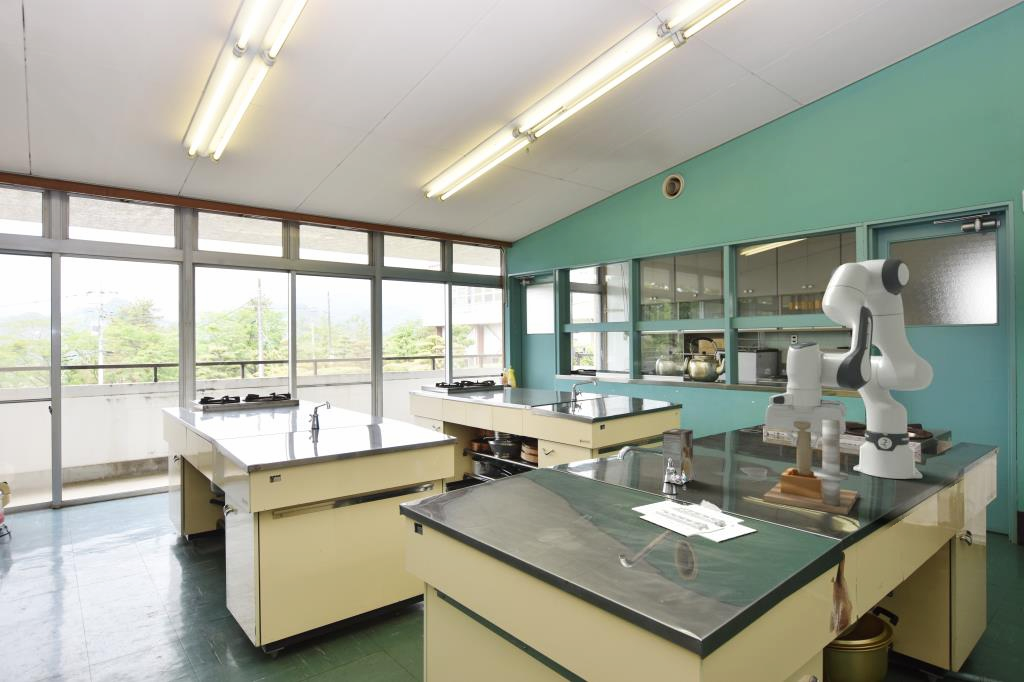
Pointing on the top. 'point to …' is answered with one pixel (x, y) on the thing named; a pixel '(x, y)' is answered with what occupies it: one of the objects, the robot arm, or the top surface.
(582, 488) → the top surface
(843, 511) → the rosette stand
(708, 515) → the stacked white papers
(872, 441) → the robot arm
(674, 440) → the coffee box
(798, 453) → the handle
